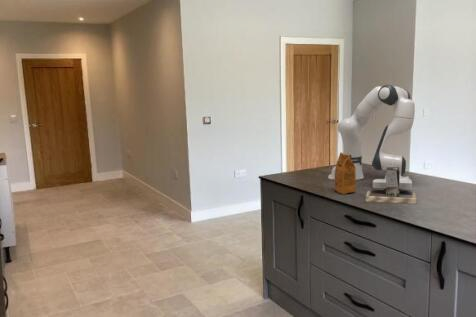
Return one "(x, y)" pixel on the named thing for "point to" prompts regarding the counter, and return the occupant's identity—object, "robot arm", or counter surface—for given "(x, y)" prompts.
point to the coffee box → (392, 181)
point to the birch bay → (390, 199)
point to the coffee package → (345, 175)
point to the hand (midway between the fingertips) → (391, 187)
